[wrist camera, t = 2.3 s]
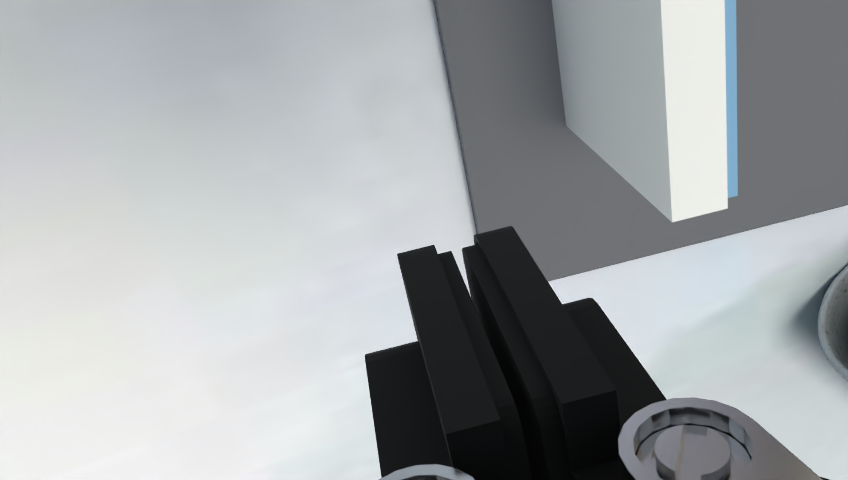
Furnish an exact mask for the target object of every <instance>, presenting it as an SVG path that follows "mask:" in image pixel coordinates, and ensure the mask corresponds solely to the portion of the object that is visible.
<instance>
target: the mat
mask: <svg viewBox="0 0 848 480" xmlns="http://www.w3.org/2000/svg"><path fill="white" fill-rule="evenodd" d="M434 3H435V8H436V14H437V19H438V25H439V30H440V36H441V41H442V46H443V52H444V57H445V63H446V68H447V74H448V79H449V84H450V90H451V95H452V101H453V106H454V112H455V117H456V122H457V128H458V133H459V139H460V144H461V150H462V155H463V160H464V166H465V171H466V177H467V182H468V188H469V193H470V198H471V204H472V209H473V215H474V220H475V226H476V231H477V234H480V233H484V232H488V231H492V230H496V229H500V228H504V227H508V226H512V227H513V228H514V229H515V231H516V232H517V234H518V235H519V237H520V239H521V240H522V242H523V243H524V245H525V247H526V248H527V250H528V251H529V253H530V254H531V256H532V258H533V259H534V261H535V262H536V264H537V266H538V267H539V269H540V270H541V272H542V273H543V275H544V277H545V278H546V280H547V281H552V280H555V279H559V278H563V277H567V276H571V275H575V274H579V273H583V272H587V271H591V270H595V269H599V268H603V267H606V266H610V265H614V264H618V263H622V262H626V261H630V260H634V259H638V258H642V257H646V256H650V255H654V254H658V253H661V252H665V251H669V250H673V249H677V248H681V247H685V246H689V245H693V244H697V243H701V242H705V241H709V240H713V239H716V238H720V237H724V236H728V235H732V234H736V233H740V232H744V231H748V230H752V229H756V228H760V227H764V226H768V225H771V224H775V223H779V222H783V221H787V220H791V219H795V218H799V217H803V216H807V215H811V214H815V213H819V212H823V211H826V210H830V209H834V208H838V207H842V206H846V205H848V0H736V45H737V167H738V196H734V197H730V198H728V209H724V210H720V211H716V212H712V213H708V214H704V215H700V216H696V217H692V218H688V219H684V220H680V221H676V222H671V221H670V220H669V219H668V218H667V217H666V216H665V215H663V214H662V213H661V212H660V211H659V210H658V209H657V208H656V207H655V206H654V205H652V204H651V203H650V202H649V201H648V200H647V199H646V198H645V197H644V196H643V195H642V194H640V193H639V192H638V191H637V190H636V189H635V188H634V187H633V186H632V185H631V184H629V183H628V182H627V181H626V180H625V179H624V178H623V177H622V176H621V175H620V174H618V173H617V172H616V171H615V170H614V169H613V168H612V167H611V166H610V165H609V164H608V163H606V162H605V161H604V160H603V159H602V158H601V157H600V156H599V155H598V154H597V153H595V152H594V151H593V150H592V149H591V148H590V147H589V146H588V145H587V144H586V143H584V142H583V141H582V140H581V139H580V138H579V137H578V136H577V135H576V134H575V133H574V132H572V131H571V130H570V129H569V128H568V127H567V126H566V120H565V111H564V102H563V94H562V85H561V77H560V68H559V59H558V51H557V42H556V33H555V25H554V16H553V7H552V0H434Z"/></svg>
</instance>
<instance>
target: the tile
mask: <svg viewBox="0 0 848 480" xmlns="http://www.w3.org/2000/svg"><path fill="white" fill-rule="evenodd" d="M552 7H553V16H554V25H555V33H556V42H557V51H558V59H559V68H560V77H561V85H562V94H563V102H564V111H565V120H566V126H567V127H568V128H569V129H570V130H571V131H572V132H574V133H575V134H576V135H577V136H578V137H579V138H580V139H581V140H582V141H583V142H584V143H586V144H587V145H588V146H589V147H590V148H591V149H592V150H593V151H594V152H595V153H597V154H598V155H599V156H600V157H601V158H602V159H603V160H604V161H605V162H606V163H608V164H609V165H610V166H611V167H612V168H613V169H614V170H615V171H616V172H617V173H618V174H620V175H621V176H622V177H623V178H624V179H625V180H626V181H627V182H628V183H629V184H631V185H632V186H633V187H634V188H635V189H636V190H637V191H638V192H639V193H640V194H642V195H643V196H644V197H645V198H646V199H647V200H648V201H649V202H650V203H651V204H652V205H654V206H655V207H656V208H657V209H658V210H659V211H660V212H661V213H662V214H663V215H665V216H666V217H667V218H668V219H669V220H670V221H671V222H676V221H680V220H684V219H688V218H692V217H696V216H700V215H704V214H708V213H712V212H716V211H720V210H724V209H728V198H730V197H734V196H738V167H737V45H736V0H552Z"/></svg>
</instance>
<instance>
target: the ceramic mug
mask: <svg viewBox="0 0 848 480" xmlns="http://www.w3.org/2000/svg"><path fill="white" fill-rule="evenodd" d="M818 335H819V340H820V343H821V347H822V349H823V351H824V353H825V356H826V358H827V360H828V361H829V362H830V364H831V365H832V366H833V367H834V369H835V370H836V371H837V372H838V373H839V374H840V375H841V376H842V377H843V378H844V379H846V380H847V381H848V265H847V266H846V267H845V268H844V269H843V270H842V271H841V272H840V273H839V274H838V275H837V277H836V278H835V279H834V280H833V281H832V283H831V285H830V286H829V288H828V290H827V291H826V293H825V295H824V298H823V300H822V303H821V307H820V310H819V314H818Z"/></svg>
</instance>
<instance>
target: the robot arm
mask: <svg viewBox="0 0 848 480" xmlns="http://www.w3.org/2000/svg"><path fill="white" fill-rule="evenodd" d="M474 244H475V245H473V246H469V247H465V248H462V252H463V259H464V264H465V269H466V274H467V279H468V284H469V289H470V294H471V297H470V295H469V292H468V290H467V287H466V285H465V283H464V280H463V278H462V275H461V273H460V271H459V268H458V266H457V264H456V261H455V259H454V256H453V254H452V252H451V251H449V252H445V253H441V254H437V251H436V248H435V246H434V245H431V246H427V247H423V248H419V249H415V250H411V251H407V252H403V253H399V254H397V256H398V260H399V265H400V269H401V273H402V277H403V281H404V285H405V289H406V293H407V298H408V302H409V306H410V310H411V314H412V318H413V322H414V327H415V331H416V335H417V339H418V341H416V342H412V343H408V344H404V345H401V346H397V347H393V348H389V349H385V350H381V351H377V352H373V353H369V354H365V362H366V369H367V376H368V383H369V390H370V398H371V405H372V412H373V419H374V426H375V433H376V441H377V448H378V455H379V462H380V469H381V476H382V478H381V479H379V480H829V479H826V478H822V477H819V476H818V475H817V474H816V473H814V472H813V471H812V470H811V469H810V468H809V467H808V466H806V465H805V464H804V463H803V462H802V461H801V460H799V459H798V458H797V457H796V456H795V455H794V454H793V453H791V452H790V451H789V450H788V449H787V448H786V447H784V446H783V445H782V444H781V443H780V442H779V441H778V440H776V439H775V438H774V437H773V436H772V435H771V434H769V433H768V432H767V431H766V430H765V429H764V428H763V427H761V426H760V425H759V424H758V423H757V422H756V421H754V420H753V419H752V418H750V417H749V416H747V415H746V414H744V413H743V412H741V411H739V410H738V409H736V408H734V407H731V406H728V405H726V404H723V403H720V402H717V401H713V400H706V399H699V398H674V399H668V400H667V399H666V398H665V397H664V395H663V394H662V392H661V391H660V390H659V388H658V387H657V386H656V384H655V383H654V381H653V380H652V379H651V377H650V376H649V374H648V373H647V372H646V370H645V369H644V367H643V366H642V365H641V363H640V362H639V360H638V359H637V358H636V356H635V355H634V354H633V352H632V351H631V349H630V348H629V347H628V345H627V344H626V342H625V341H624V340H623V338H622V337H621V335H620V334H619V333H618V331H617V330H616V329H615V327H614V326H613V324H612V323H611V322H610V320H609V319H608V317H607V316H606V315H605V313H604V312H603V310H602V309H601V308H600V306H599V305H598V304H597V302H596V301H595V300H594V299H593V298H586V299H582V300H578V301H574V302H570V303H566V304H562V303H561V302H560V300H559V299H558V297H557V296H556V294H555V292H554V291H553V289H552V288H551V286H550V284H549V283H548V281H547V280H546V278H545V277H544V275H543V273H542V272H541V270H540V269H539V267H538V266H537V264H536V262H535V261H534V259H533V258H532V256H531V254H530V253H529V251H528V250H527V248H526V247H525V245H524V243H523V242H522V240H521V239H520V237H519V235H518V234H517V232H516V231H515V229H514V228H513V227H512V226H508V227H504V228H500V229H496V230H492V231H488V232H484V233H480V234H476V235H474Z"/></svg>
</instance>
